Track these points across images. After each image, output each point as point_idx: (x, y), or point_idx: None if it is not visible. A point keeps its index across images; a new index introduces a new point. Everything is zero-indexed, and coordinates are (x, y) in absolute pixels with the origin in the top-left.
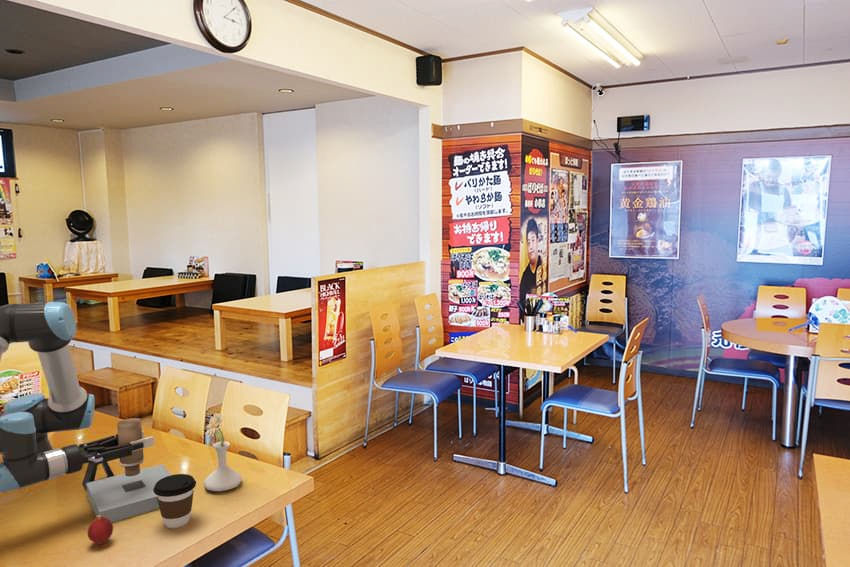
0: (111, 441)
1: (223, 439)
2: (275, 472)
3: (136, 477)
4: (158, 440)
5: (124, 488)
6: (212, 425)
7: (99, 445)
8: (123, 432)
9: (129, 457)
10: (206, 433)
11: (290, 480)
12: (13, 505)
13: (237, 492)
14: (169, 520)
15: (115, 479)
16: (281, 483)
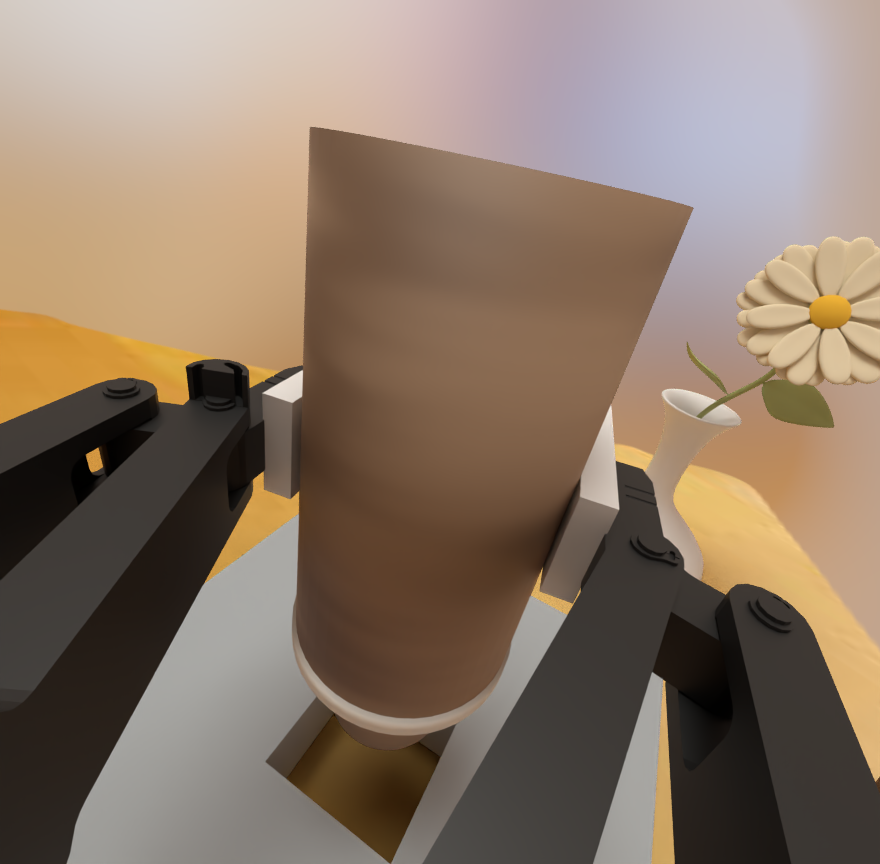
0: (197, 495)
1: (792, 388)
2: (646, 464)
3: None
4: (124, 360)
5: (279, 759)
6: (834, 312)
7: (3, 748)
8: (562, 351)
9: (497, 646)
10: (775, 358)
11: (725, 490)
12: None
13: (704, 575)
14: None
15: (150, 694)
16: (729, 506)
